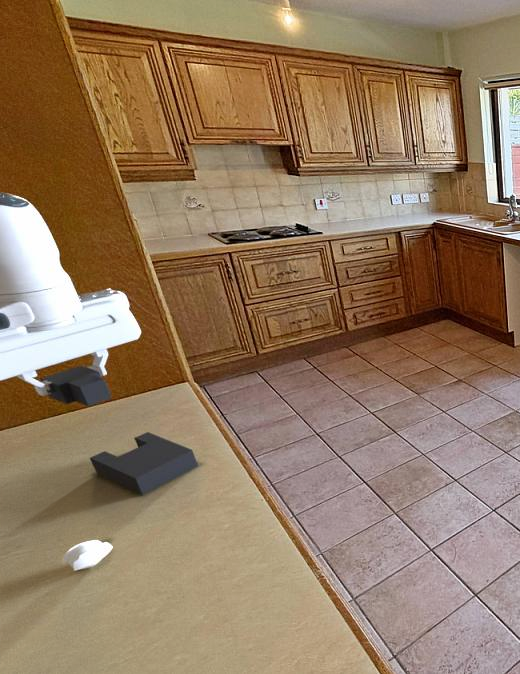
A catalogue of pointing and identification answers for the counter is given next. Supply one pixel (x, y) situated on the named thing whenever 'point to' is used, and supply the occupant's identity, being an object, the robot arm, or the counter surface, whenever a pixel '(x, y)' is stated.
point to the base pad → (145, 464)
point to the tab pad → (79, 386)
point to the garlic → (86, 554)
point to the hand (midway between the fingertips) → (74, 384)
